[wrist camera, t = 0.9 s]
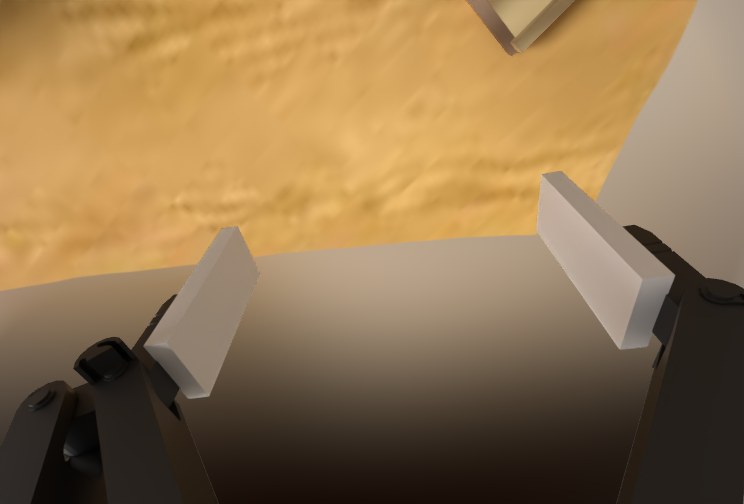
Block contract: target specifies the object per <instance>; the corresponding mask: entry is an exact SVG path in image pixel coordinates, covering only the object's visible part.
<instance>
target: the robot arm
mask: <svg viewBox="0 0 744 504" xmlns="http://www.w3.org/2000/svg"><path fill="white" fill-rule="evenodd" d="M536 231H537V233H538V234H539V235H540V237H541V238H542V240H543V241H544V242H545V244H546V245H547V247H548V248H549V250H550V251H551V253H552V254H553V255H554V257H555V258H556V260H557V261H558V263H559V264H560V265H561V267H562V268H563V270H564V271H565V272H566V274H567V275H568V277H569V278H570V280H571V281H572V282H573V284H574V285H575V287H576V288H577V289H578V291H579V292H580V294H581V295H582V297H583V298H584V300H585V301H586V302H587V304H588V305H589V306H590V308H591V309H592V311H593V312H594V313H595V315H596V317H597V318H598V319H599V321H600V322H601V324H602V325H603V326H604V328H605V329H606V331H607V332H608V334H609V335H610V337H611V338H612V339H613V341H614V342H615V344H616V345H617V346H618V348H619V349H620V350H621V349H631V348H640V347H647V346H648V344H649V341H650V339H651V336H652V334H653V333H654V334H655V336H656V337H657V338H658V339H659V340H660V342H661V343H662V345H661V347H660V350H659V352H658V355H657V357H656V359H655V361H654V364H653V366H652V367H653V368H654V371H653V374H652V378H651V381H650V385H649V389H648V392H647V396H646V399H645V403H644V406H643V410H642V414H641V417H640V421H639V424H638V428H637V432H636V435H635V439H634V442H633V446H632V450H631V454H630V457H629V460H628V464H627V467H626V471H625V475H624V478H623V482H622V485H621V489H620V493H619V496H618V500H617V503H616V504H743V496H744V289H743V288H742V287H740V286H738V285H736V284H733V283H730V282H727V281H724V280H719V279H711V278H705V277H704V276H702V274H700V273H699V272H698V271H697V270H696V269H694V268H693V267H692V266H691V265H689V264H688V263H687V262H686V261H684V259H682V258H681V257H680V256H679V255H678V254H676V253H675V252H674V251H673V252H672V250H671V248H669V247H668V246H667V245H665V244H663V243H662V241H661V240H660V239H658V238H657V237H656V236H655V235H654V234H653V233H651V232H650V231H647V230H644V229H643V228H641V227H638V226H636V225H631V226H623V227H622V226H621V225H620V224H618V222H616V221H615V220H614V219H613V218H612V217H611V216H610V215H609V214H608V213H607V212H605V211H604V210H603V209H602V208H601V207H600V206H599V205H598V204H597V203H596V202H595V201H593V200H592V199H591V198H590V197H589V196H588V195H587V194H586V193H585V192H584V191H583V190H581V189H580V188H579V187H578V186H577V185H576V184H575V183H574V182H573V181H572V180H571V179H569V178H568V177H567V176H566V175H565V174H564V173H563V172H562V171H558V172H552V173H546V174H541V185H540V196H539V207H538V218H537V229H536ZM259 274H260V272H259V270H258V268H257V266H256V263H255V261H254V259H253V257H252V255H251V253H250V251H249V249H248V247H247V245H246V243H245V241H244V238H243V236H242V234H241V232H240V230H239V228H238V226H234V227H228V228H222V229H221V230H220V232H219V233H218V235H217V236H216V238H215V239H214V241H213V242H212V244H211V245H210V247H209V248H208V250H207V251H206V253H205V254H204V256H203V257H202V259H201V260H200V262H199V263H198V265H197V266H196V268H195V269H194V271H193V272H192V274H191V275H190V277H189V278H188V280H187V281H186V283H185V284H184V286H183V287H182V289H181V290H180V292H179V293H178V294H176V295H173V296H172V297H171V298H170V299H169V300H167V301H166V302H165V303H164V304H163V305H162V306H161V308H160V309H159V311H158V312H157V314H156V315H155V316H156V317H154V318H153V320H152V321H151V322H150V326H148V327H147V328H146V330H145V331H144V333H143V334H142V336H141V337H140V338H139V340H138V341H137V343H136V344H135V346H134V347H133V348H132V350H130V349H129V348H128V347H127V345H126V344H125V343H124V342H123V341H122V340H121V339H120V338H118V337H111V338H106V339H104V340H101V341H99V342H97V343H95V344H94V345H92V346H91V347H89V348H88V349H87V350H86V351H84V352H83V353H82V354H81V355H80V356H79V358H78V359H77V360H76V362H75V365H74V370H75V371H77V372H78V373H79V374H80V375H81V376H82V377H83V378H84V379H85V380H87V382H89V383H86V384H84V385H81V386H79V387H76V388H74V389H72V388H71V387H70V386H69V385H68V384H66V383H65V382H64V381H54V382H51V383H48V384H46V385H44V386H43V387H41V388H38V389H37V390H35V392H33V393H31V394H30V395H29V396H28V397H27V398H26V399H25V401H23V402H22V404H21V405H20V407H19V408H18V410H17V411H16V414H15V416H14V419H13V421H12V423H11V425H10V428H9V430H8V432H7V435H6V437H5V440H4V442H3V444H2V446H1V448H0V504H219V503H218V501H217V498H216V496H215V493H214V491H213V488H212V486H211V483H210V480H209V478H208V476H207V473H206V470H205V468H204V465H203V463H202V460H201V458H200V455H199V453H198V450H197V448H196V445H195V443H194V440H193V437H192V435H191V432H190V430H189V427H188V425H187V423H186V420H185V417H184V415H183V412H182V410H181V407H180V405H179V404H178V402H177V401H176V400H175V396H176V395H177V392H178V391H179V389H180V390H181V391H182V392H183V393H184V394H185V396H186V397H187V398H188V399H190V398H198V397H207V396H209V395H210V393H211V390H212V388H213V385H214V383H215V381H216V378H217V376H218V373H219V371H220V369H221V366H222V364H223V361H224V359H225V356H226V354H227V352H228V349H229V347H230V344H231V342H232V340H233V337H234V335H235V332H236V330H237V327H238V325H239V323H240V320H241V318H242V316H243V313H244V311H245V308H246V306H247V304H248V301H249V299H250V296H251V294H252V291H253V289H254V287H255V284H256V282H257V279H258V277H259ZM63 452H64V453H65V454H64V455H63Z"/></svg>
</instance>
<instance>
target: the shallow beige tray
mask: <svg viewBox="0 0 744 504" xmlns="http://www.w3.org/2000/svg"><path fill="white" fill-rule="evenodd" d="M466 1H467V2H468V3H469V4H470V6H471V7H472V8H473V10H474V11H475V12H476V13H477V15H478V16H479V17H480V19H481V20H482V21H483V22H484V24H485V25H486V26H487V28H488V29H489V30H490V31H491V33H492V34H493V35H494V37H495V38H496V39H497V41H498V42H499V43H500V44H501V46H502V47H503V48H504V50H505V51H506V52H507V53H508V55H511V56H512V55H513V54H514V53H515V52H516V51H518V52H520V53H523V52H524V51H525V50H526V49H527V48H528V47H529V46H530V45H531V44H532V43H533V42H534V41H535V40H536V39H537V38H538V37H539V36H540V35H541V34H542V33H543V32H544V31H545V30H546V29H547V28H548V27H549V26H550V25H551V24H552V23H553V22H554V21H555V20H556V19H557V18H558V17H559V16H560V15H561V14H562V13H563V12H564V11H565V10H566V9H567V8H568V7H569V6H570V5H571V4H572V3H573V2H574V1H575V0H466Z"/></svg>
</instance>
